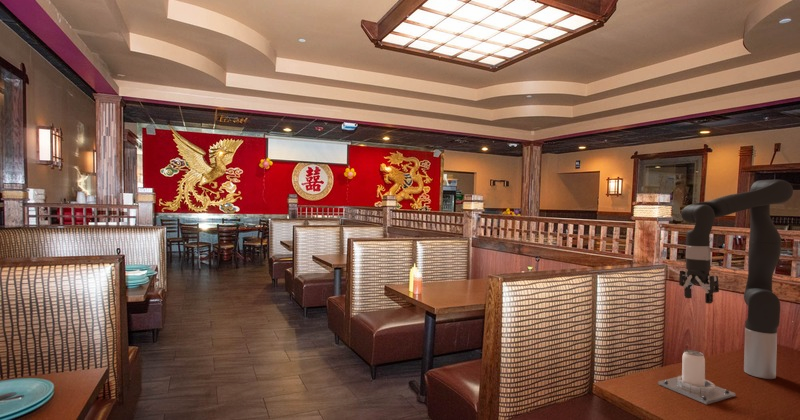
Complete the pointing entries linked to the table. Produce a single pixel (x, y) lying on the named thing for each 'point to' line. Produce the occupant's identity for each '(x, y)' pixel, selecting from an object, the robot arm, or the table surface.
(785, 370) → the table surface
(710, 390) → the duct flange
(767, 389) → the table surface
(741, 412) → the table surface
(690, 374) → the can
